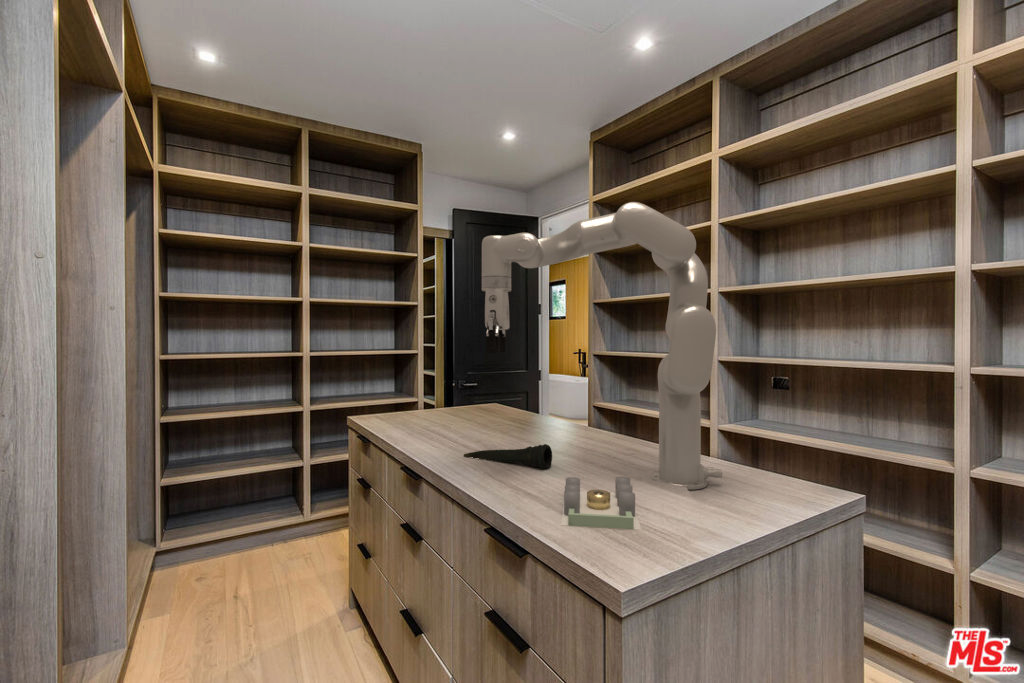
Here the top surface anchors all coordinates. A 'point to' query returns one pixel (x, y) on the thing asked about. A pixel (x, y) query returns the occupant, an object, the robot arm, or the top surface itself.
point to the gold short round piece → (598, 499)
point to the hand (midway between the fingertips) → (496, 352)
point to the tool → (519, 456)
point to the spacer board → (614, 517)
